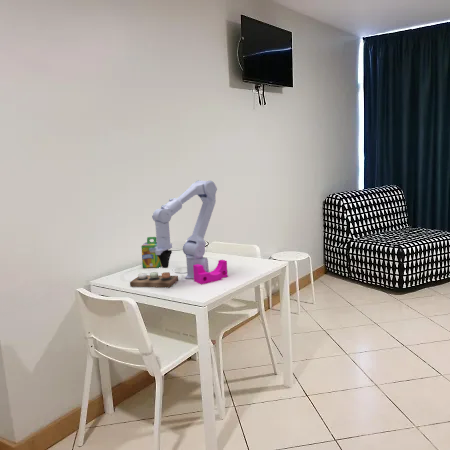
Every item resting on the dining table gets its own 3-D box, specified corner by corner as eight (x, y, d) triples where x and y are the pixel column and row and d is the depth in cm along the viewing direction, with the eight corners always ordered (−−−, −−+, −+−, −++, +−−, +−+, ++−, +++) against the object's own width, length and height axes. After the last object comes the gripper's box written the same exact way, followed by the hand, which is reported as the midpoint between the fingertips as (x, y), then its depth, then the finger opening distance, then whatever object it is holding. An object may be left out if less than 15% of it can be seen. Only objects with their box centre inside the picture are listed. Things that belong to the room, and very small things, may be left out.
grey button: (148, 276, 196) (147, 273, 196) (144, 279, 192) (144, 275, 192) (140, 276, 197) (140, 273, 196) (137, 278, 193) (136, 275, 193)
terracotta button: (171, 275, 193) (171, 272, 193) (168, 278, 190) (168, 274, 189) (163, 275, 194) (163, 272, 194) (160, 278, 191) (160, 274, 190)
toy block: (201, 284, 189) (200, 267, 188) (194, 281, 194) (193, 265, 193) (230, 278, 197) (229, 261, 195) (223, 275, 202) (222, 259, 201)
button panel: (178, 280, 197) (178, 275, 196) (169, 287, 186) (169, 282, 186) (140, 279, 201) (140, 274, 201) (130, 286, 190) (129, 281, 190)
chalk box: (142, 268, 221) (140, 239, 219) (146, 264, 230) (143, 236, 228) (160, 267, 221) (158, 238, 218) (163, 263, 230) (161, 235, 228)
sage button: (159, 275, 194) (159, 272, 194) (156, 277, 191) (156, 274, 191) (151, 275, 195) (151, 272, 195) (148, 277, 192) (148, 274, 192)
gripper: (160, 233, 197) (162, 263, 199) (147, 240, 183) (150, 271, 185) (175, 233, 195) (177, 263, 197) (163, 240, 181) (165, 272, 184)
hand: (165, 267), depth 191 cm, fingers closed
